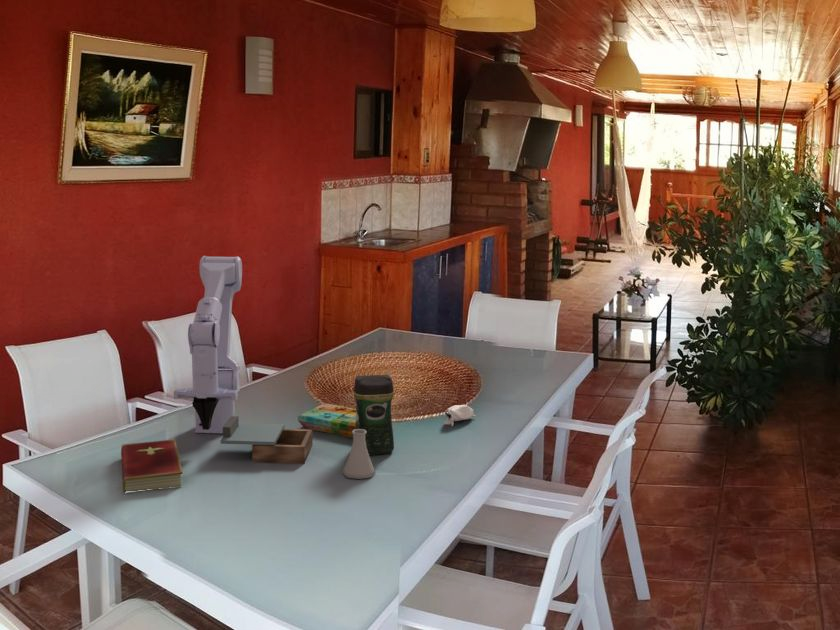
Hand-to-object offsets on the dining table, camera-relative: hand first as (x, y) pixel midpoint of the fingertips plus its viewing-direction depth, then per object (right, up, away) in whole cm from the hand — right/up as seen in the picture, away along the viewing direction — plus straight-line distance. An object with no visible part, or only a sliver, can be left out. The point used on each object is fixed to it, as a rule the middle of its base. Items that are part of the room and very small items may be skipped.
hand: (206, 428), depth 202 cm
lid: (+11, -2, 0) cm, 11 cm away
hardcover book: (-9, -9, -12) cm, 18 cm away
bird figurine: (+60, -2, +27) cm, 66 cm away
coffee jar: (+39, -6, +4) cm, 40 cm away
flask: (+37, -9, -10) cm, 39 cm away
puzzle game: (+30, -3, +19) cm, 36 cm away
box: (+18, -6, +1) cm, 19 cm away
